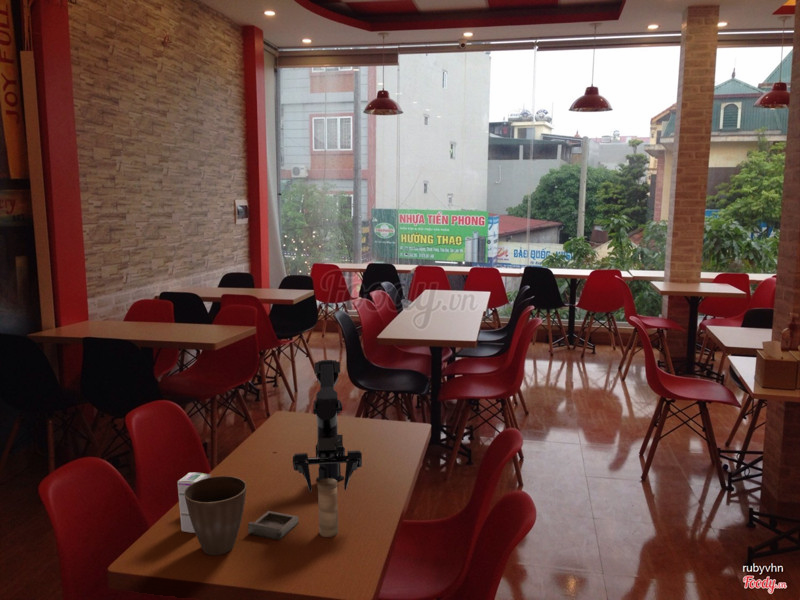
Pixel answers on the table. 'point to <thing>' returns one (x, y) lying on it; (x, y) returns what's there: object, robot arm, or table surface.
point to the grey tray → (273, 525)
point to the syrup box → (182, 486)
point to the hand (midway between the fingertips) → (327, 490)
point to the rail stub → (328, 507)
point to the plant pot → (216, 511)
